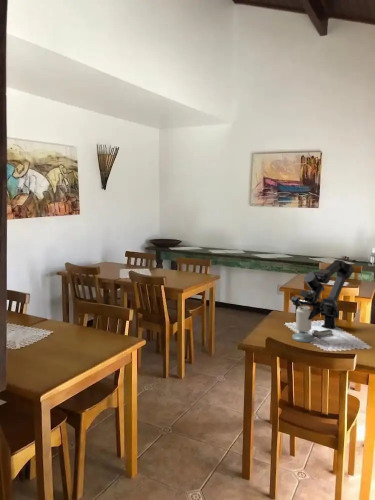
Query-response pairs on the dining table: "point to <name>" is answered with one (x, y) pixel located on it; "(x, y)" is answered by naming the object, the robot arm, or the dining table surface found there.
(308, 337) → the pad
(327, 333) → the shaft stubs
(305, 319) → the can
